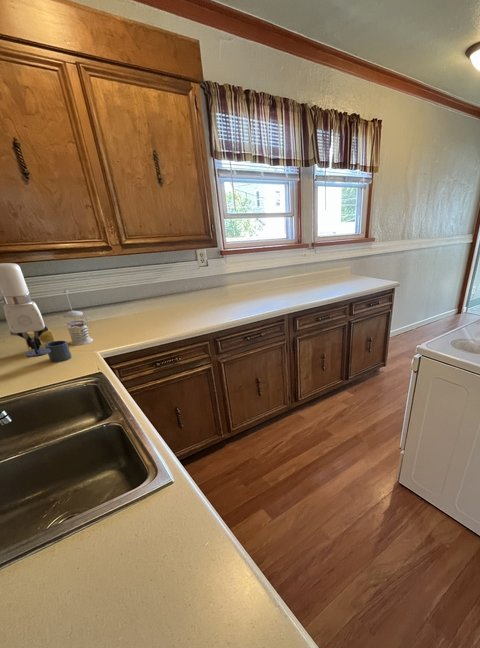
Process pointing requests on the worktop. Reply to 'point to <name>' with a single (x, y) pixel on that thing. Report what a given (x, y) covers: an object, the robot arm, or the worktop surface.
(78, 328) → the french press
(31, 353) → the lid
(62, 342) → the pot
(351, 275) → the worktop surface
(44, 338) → the cheese
